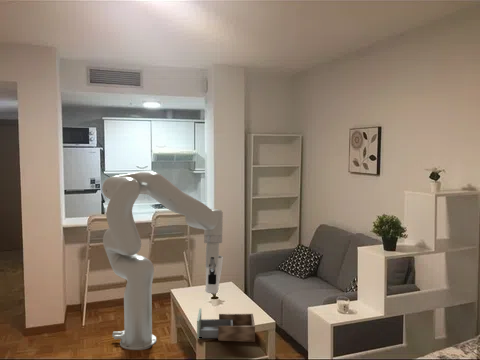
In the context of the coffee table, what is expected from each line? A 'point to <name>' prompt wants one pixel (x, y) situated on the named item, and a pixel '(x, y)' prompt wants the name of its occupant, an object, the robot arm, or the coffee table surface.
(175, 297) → the coffee table surface
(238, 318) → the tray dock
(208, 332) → the tray
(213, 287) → the drinking glass
